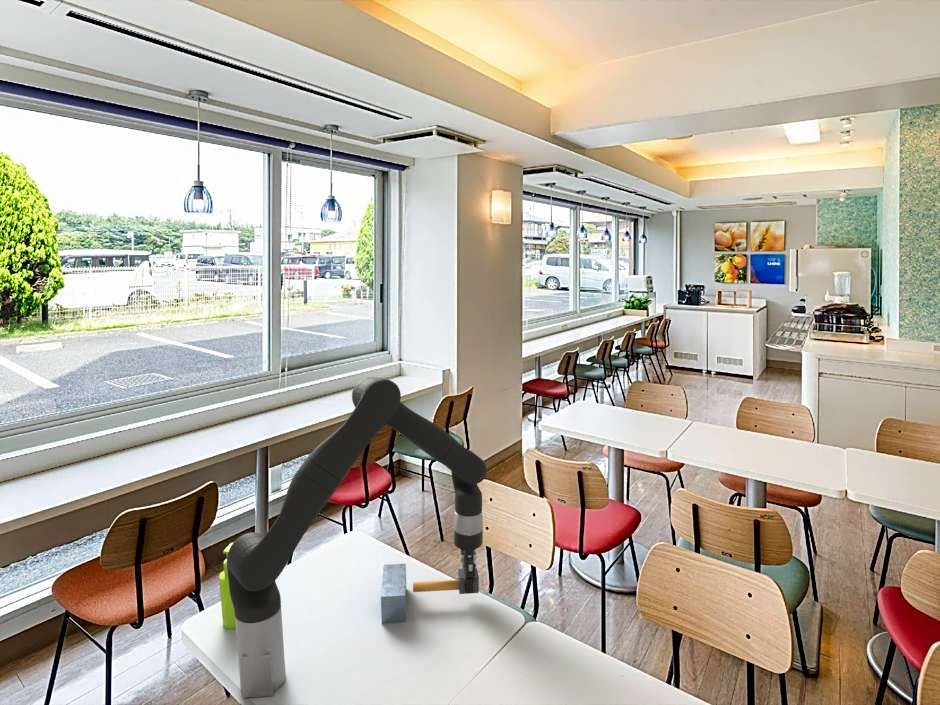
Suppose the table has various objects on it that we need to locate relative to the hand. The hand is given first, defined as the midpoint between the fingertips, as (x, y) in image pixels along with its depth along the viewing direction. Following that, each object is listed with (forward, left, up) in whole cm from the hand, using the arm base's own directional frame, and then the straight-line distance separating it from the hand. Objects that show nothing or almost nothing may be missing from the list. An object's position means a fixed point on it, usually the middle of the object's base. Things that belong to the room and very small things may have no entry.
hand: (467, 586), depth 151 cm
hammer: (0, +6, -1) cm, 6 cm away
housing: (0, +19, -4) cm, 20 cm away
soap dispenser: (-2, +59, -5) cm, 59 cm away
